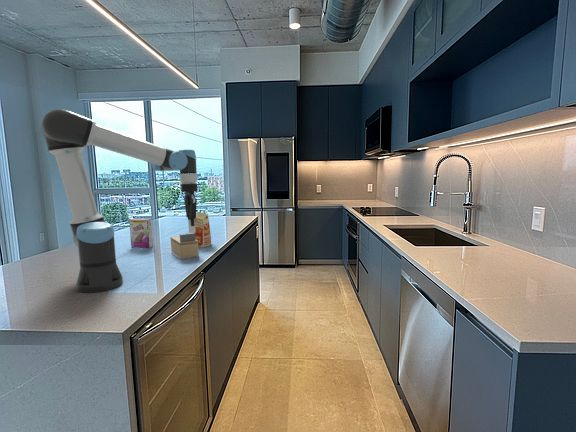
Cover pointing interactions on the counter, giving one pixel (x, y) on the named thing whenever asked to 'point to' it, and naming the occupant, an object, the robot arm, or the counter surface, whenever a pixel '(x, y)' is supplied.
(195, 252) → the mailer box
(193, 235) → the mailer lid
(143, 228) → the candy bar box
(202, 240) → the milk carton
